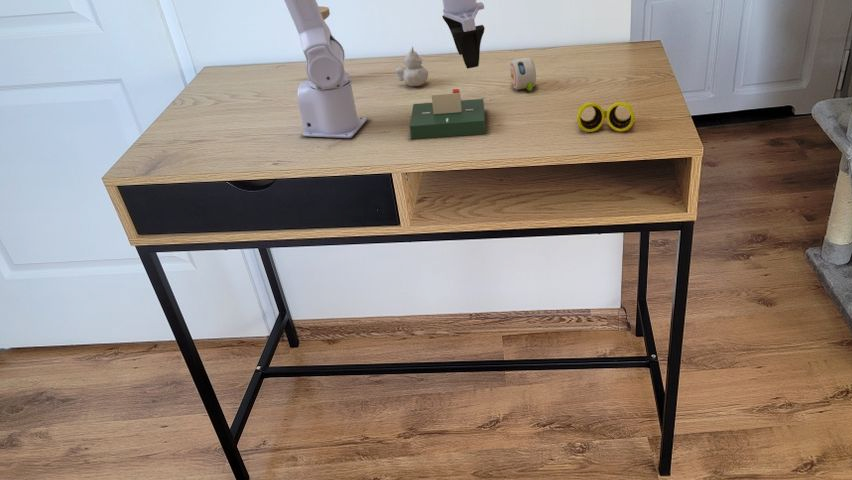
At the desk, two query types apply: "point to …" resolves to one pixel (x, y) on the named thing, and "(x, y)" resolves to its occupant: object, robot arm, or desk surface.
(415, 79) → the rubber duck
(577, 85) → the desk surface
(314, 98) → the robot arm
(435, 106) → the red topped block
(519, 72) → the roller toy
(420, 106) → the console
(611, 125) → the opera glasses
